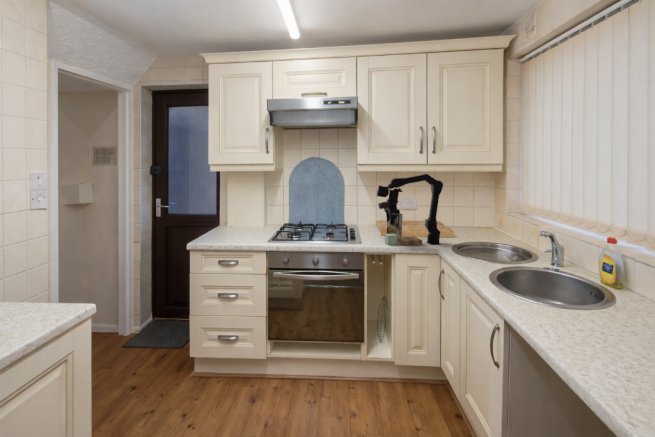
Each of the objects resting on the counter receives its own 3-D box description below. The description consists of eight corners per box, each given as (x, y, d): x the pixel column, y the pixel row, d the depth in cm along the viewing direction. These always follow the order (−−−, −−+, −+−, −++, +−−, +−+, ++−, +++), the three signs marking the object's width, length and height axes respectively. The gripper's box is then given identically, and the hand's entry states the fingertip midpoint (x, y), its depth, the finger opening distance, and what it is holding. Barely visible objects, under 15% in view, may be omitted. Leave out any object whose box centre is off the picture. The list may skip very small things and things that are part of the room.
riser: (414, 240, 232) (414, 236, 231) (421, 245, 220) (422, 240, 220) (396, 241, 230) (396, 236, 229) (403, 245, 218) (403, 241, 218)
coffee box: (402, 237, 243) (403, 213, 241) (398, 238, 238) (399, 214, 235) (389, 235, 248) (390, 212, 245) (386, 237, 243) (386, 213, 240)
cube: (393, 242, 226) (394, 233, 226) (397, 245, 221) (397, 235, 220) (384, 243, 226) (384, 233, 225) (387, 245, 220) (388, 235, 219)
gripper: (377, 195, 229) (373, 218, 232) (383, 198, 211) (379, 224, 214) (394, 197, 230) (390, 220, 233) (402, 200, 212) (397, 226, 214)
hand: (389, 222), depth 223 cm, fingers open, 9 cm apart
